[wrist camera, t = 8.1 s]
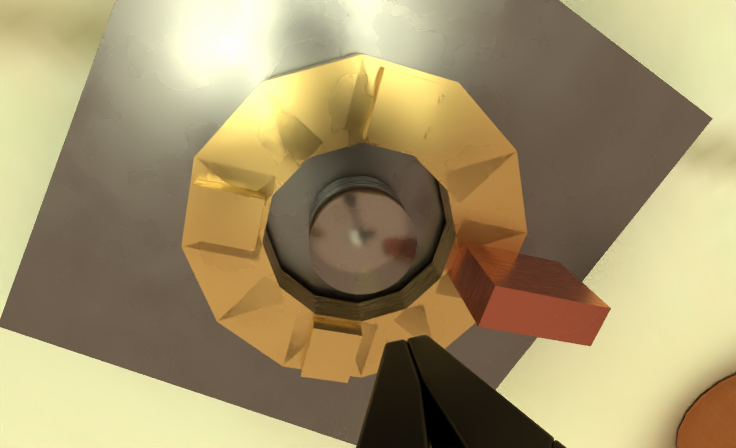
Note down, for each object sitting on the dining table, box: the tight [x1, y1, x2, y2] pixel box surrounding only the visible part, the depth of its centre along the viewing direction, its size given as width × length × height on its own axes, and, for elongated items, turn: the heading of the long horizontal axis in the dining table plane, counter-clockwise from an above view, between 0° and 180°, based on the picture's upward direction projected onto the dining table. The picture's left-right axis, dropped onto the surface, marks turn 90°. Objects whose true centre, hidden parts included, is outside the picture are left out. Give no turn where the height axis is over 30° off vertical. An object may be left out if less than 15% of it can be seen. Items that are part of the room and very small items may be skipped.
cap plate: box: [0, 0, 712, 445], centre depth 19 cm, size 22×22×4 cm
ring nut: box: [181, 53, 611, 383], centre depth 17 cm, size 15×13×5 cm
